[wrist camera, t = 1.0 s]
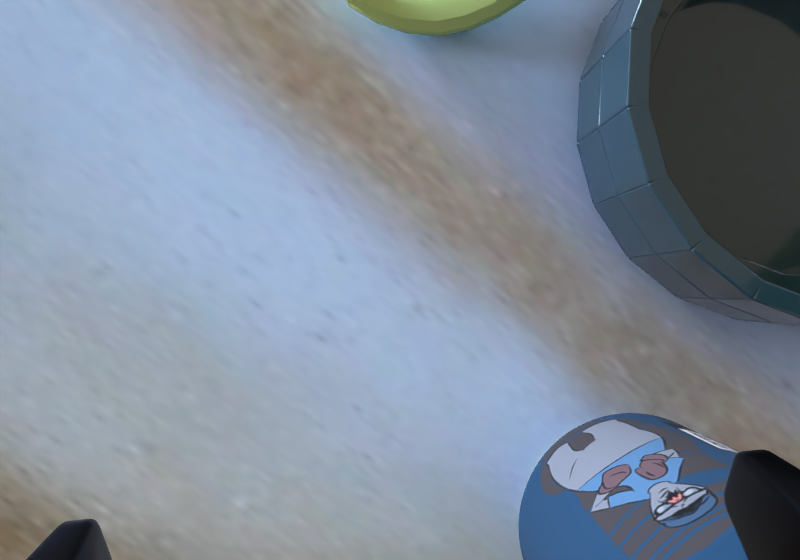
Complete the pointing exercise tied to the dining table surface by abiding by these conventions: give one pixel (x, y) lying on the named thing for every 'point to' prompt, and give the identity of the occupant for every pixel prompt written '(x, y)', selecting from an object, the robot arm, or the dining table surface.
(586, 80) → the bowl
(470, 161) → the dining table surface
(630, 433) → the soda can
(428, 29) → the figurine
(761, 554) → the robot arm
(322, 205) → the dining table surface
